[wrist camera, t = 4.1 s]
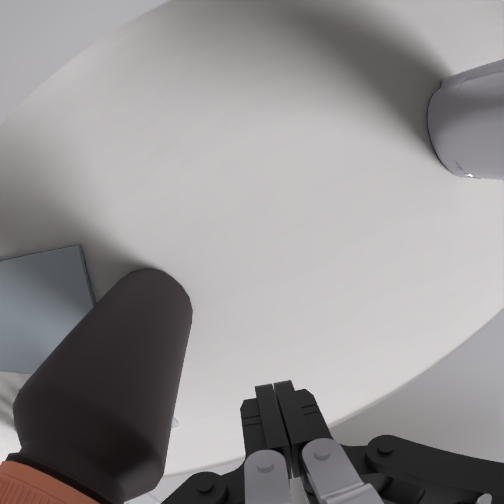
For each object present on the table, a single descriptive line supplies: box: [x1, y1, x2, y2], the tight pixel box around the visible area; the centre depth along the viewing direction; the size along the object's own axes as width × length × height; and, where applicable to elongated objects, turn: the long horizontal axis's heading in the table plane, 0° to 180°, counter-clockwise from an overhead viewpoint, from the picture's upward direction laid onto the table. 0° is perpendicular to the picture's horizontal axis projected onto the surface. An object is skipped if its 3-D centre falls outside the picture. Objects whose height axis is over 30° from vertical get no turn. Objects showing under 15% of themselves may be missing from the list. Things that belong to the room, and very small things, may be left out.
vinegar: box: [0, 269, 193, 504], centre depth 13 cm, size 7×7×20 cm
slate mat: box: [0, 245, 95, 374], centre depth 21 cm, size 22×12×1 cm, turn 97°
